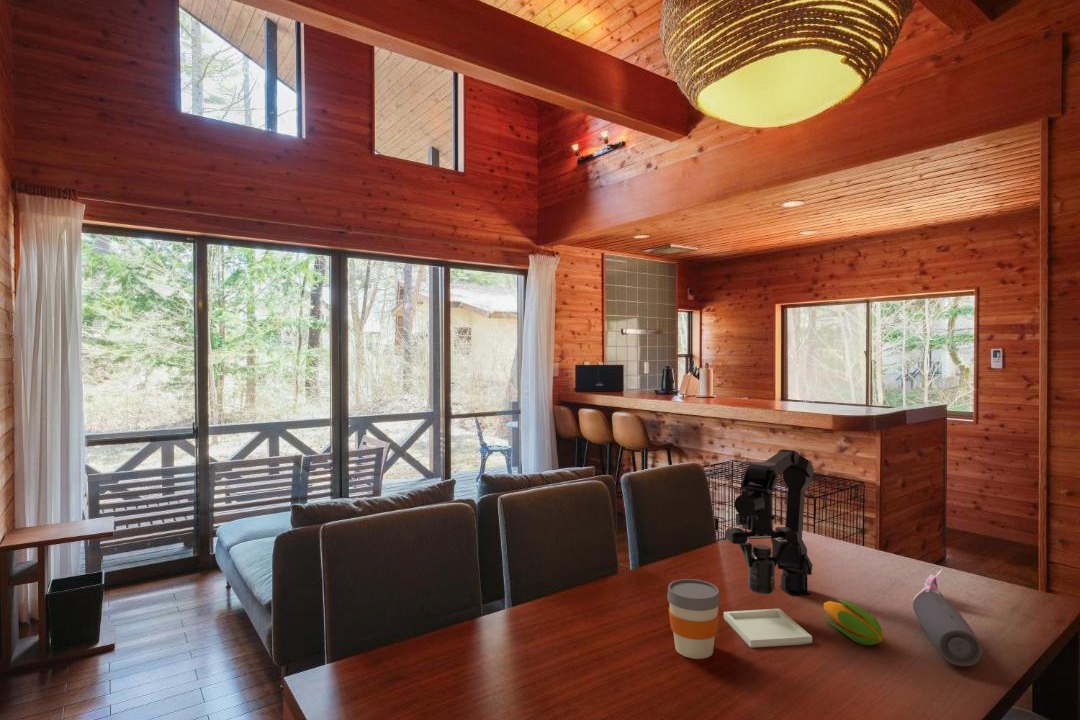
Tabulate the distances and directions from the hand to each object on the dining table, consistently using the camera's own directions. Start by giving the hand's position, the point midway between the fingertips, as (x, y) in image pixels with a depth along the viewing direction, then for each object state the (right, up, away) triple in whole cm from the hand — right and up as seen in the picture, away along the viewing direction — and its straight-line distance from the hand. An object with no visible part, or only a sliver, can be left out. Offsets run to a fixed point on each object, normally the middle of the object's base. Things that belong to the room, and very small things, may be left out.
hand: (761, 566), depth 160 cm
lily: (+52, -13, +8) cm, 54 cm away
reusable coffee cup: (-24, -14, -18) cm, 33 cm away
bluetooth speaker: (+37, -13, -19) cm, 44 cm away
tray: (-2, -14, -9) cm, 16 cm away
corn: (+18, -14, -11) cm, 25 cm away
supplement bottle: (0, -7, 0) cm, 7 cm away
